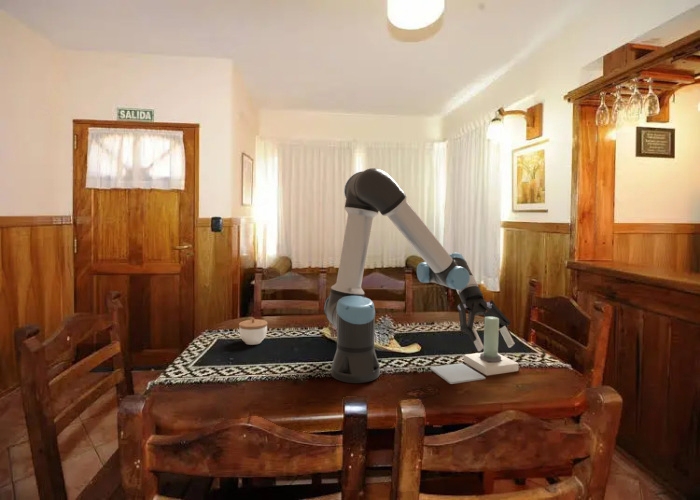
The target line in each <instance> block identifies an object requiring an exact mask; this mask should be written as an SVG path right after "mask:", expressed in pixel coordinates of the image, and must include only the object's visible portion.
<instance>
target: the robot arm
mask: <svg viewBox="0 0 700 500" xmlns="http://www.w3.org/2000/svg"><path fill="white" fill-rule="evenodd" d="M343 193H344V197H345V203H344V210H345V211H346V213H347V217H346V218H347V219H346V225H345V231H344V236H343V241H342V248H341V253H340V260H339V266H338V271H337V277H336V282H335V284H333V285H331V286H330V291H329V292H330V293H329V296H328V297H327V299H326V300H325V302H324V303H325V304H324V313H325V316H326V319H327V321H328V322H329V323H330V324H331V326H333V327H334V328H335V329H336V351H335V353H334V357H333V360H332V363H331V369H330V372H331V376H332V378H334V379H335V380H336V381H340V382H343V383H349V384H365V383H369V382H373V381H375V380H377V379H378V378H379V376H380V374H381V372H380V371H381V368H380V364H379V360H378V358H377V357H378V356H377V353H376V351H375V329H376V328H375V327H376V326H375V324H376V323H375V320H376V319H375V317H376V310H375V304H374V302H373V300H371V299H370V298H368V297H366V296H365V291H364V290H363V288H362V283H363V277H364V271H365V266H366V260H367V255H368V254H367V253H368V248H369V243H370V237H371V232H372V231H371V230H372V225H373V220H374V218H375V217H376V216H377V215H379V213H380V214H381V216H384V217H385V216H387V217H388V219H389V220H390V221H391V222H392V223H393V225H394V226H395V227H396V228H397V229H398V231H399V232H400V233H401V235H402V236H403V237H404V238H405V240H406V241H408V243H409V244H410V245H411V246H412V247H413V249H414V251H416V252H417V253H418V255H419V256H420V258H422V260H423V262H418V264H417V267H416V276H417V279H418V281H419V282H420V283H425V284H426V283H427V284H429V283H435V284H438V285H440V286H444V287H446V288H449V289H452V290H456V292H457V295H458V296H459V299H460V301H461V302H460V303H459V304H458V305H457V306H456V309H457V311H458V315H459V317H458V318H459V319H458V320H459V327H460V328H459V329H460V331H461V332H463V333H465V334H466V335H468V337H469V338H470V341H471V342H473V344H474V346H475V348H476V350H477V353H480V352H482V350H484V343H483V342H482V339H481V338H480V336H479V334H478V331H477V329H476V328H474V322H475V317H476V316H478V315H479V316H483V317H484V318H485V317H497V318H499V328H500V329H499V332H500V334H501V336H502V337H503V340H504V342H505V343H506V346H507V347H508V348H512V347H513V346H514V345H515V341H514V339H513V338H512V332H511V331H510V329H509V325H511V320H510V319H508V317H507V316H506V315H505V314H504V313H503V312H502V310H501V309H499V307H498V306H497V305H496V302H494V300H492V299H491V300H490V301H488V302H487V301H486V300H485V299H484V294H483V292H482V290H481V289H480V286H479V284H478V281H476V279H475V277H474V276H473V273H472V270H471V269H470V267H469V265H468V262H467V261H466V259H465V258H464V256H463V255H462V254H461V253H459V252H452V253H449V252H447V250H446V249H445V248H444V246H443V245H442V243H440V241H439V240H438V239H437V238H436V236H435V235H434V233H433V232H432V231H431V230H430V228H428V226H427V225H426V223H425V222H424V221H423V220H422V218H421V217H420V216H419V215H418V213H417V212H416V211H415V210H414V208H413V207H412V206H411V205H410V203H409V201H407V197H408V196H407V194H406V193H405V192H404V191H403V189H402V188H401V187H400V186H399V184H398V183H397V182H396V181H395V180H394V179H393V178H392V176H390V174H388V173H387V172H386V171H385V170H382V169H380V168H376V167H375V168H374V167H373V168H367V169H365V170H362V171H359V172H356V173H354V174H352V175H351V176H350V177H349V179H348V180H347V181H346V182H345V185H344V192H343ZM467 311H468V314H467Z"/></svg>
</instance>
